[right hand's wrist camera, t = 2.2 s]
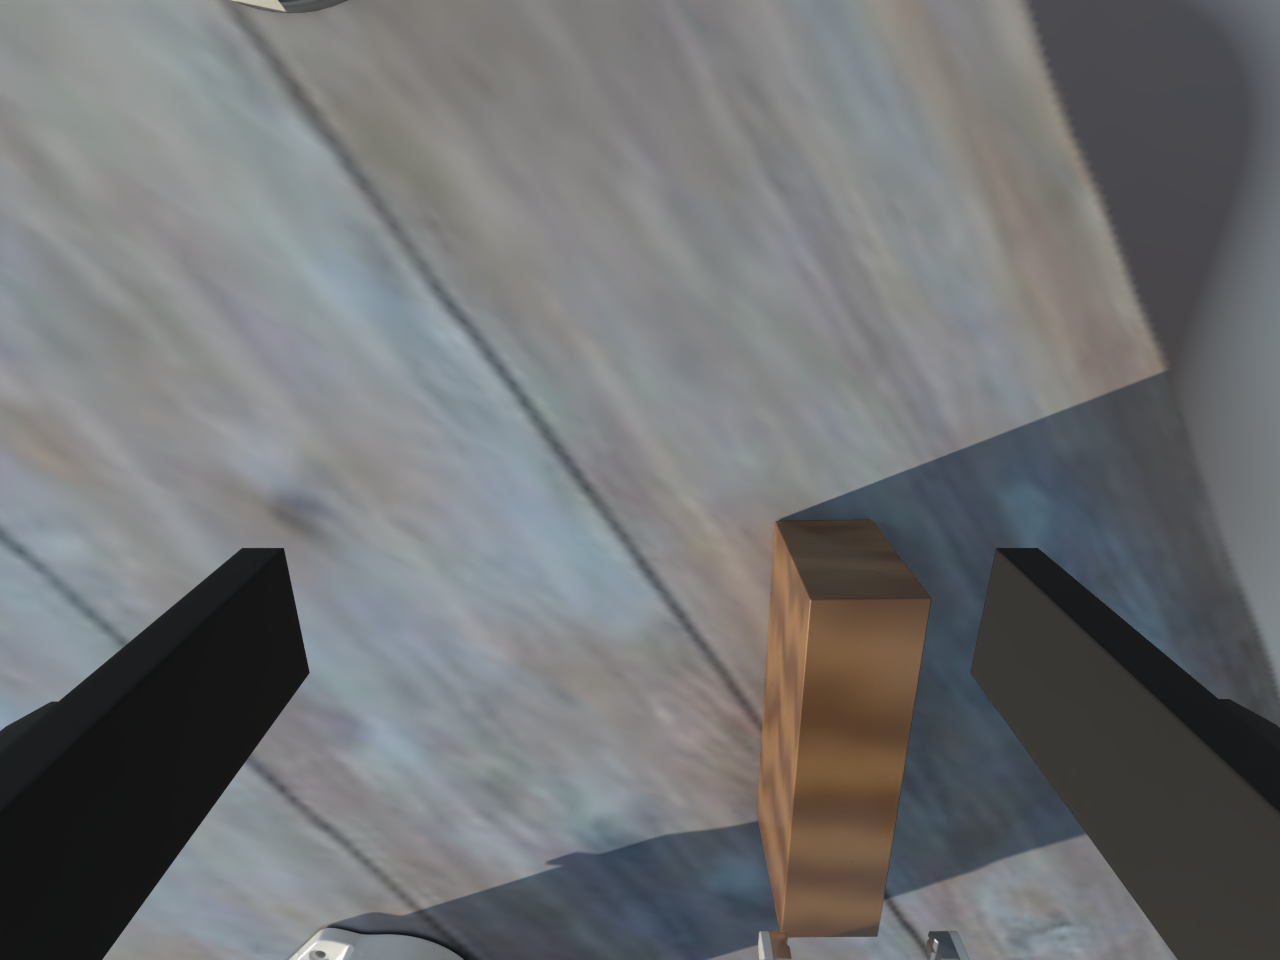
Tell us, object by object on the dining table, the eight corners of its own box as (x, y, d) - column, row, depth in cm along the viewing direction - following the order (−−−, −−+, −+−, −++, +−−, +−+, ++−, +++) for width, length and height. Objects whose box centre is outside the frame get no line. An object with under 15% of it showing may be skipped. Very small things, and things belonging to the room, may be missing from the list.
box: (775, 520, 43) (810, 599, 35) (871, 519, 43) (932, 598, 34) (756, 814, 52) (780, 938, 43) (837, 813, 52) (878, 937, 43)
